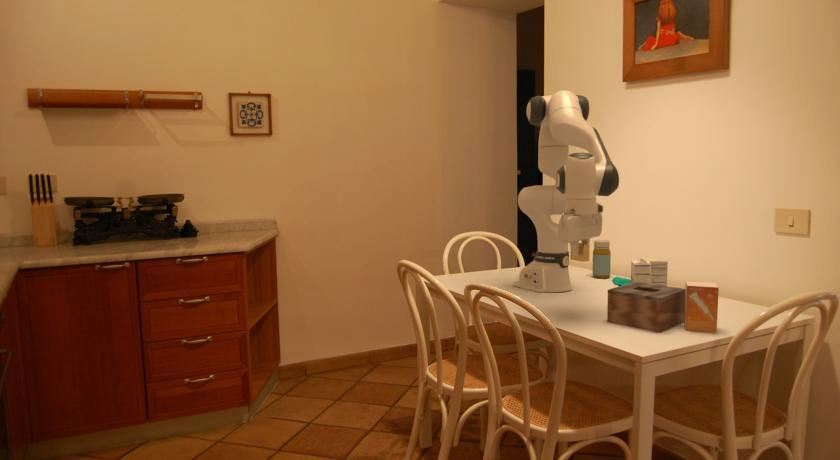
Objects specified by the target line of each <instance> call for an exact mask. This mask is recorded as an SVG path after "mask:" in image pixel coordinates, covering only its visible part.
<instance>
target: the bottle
mask: <svg viewBox="0 0 840 460" xmlns="http://www.w3.org/2000/svg"><path fill="white" fill-rule="evenodd" d="M610 241H611V240H606V239H596V240H594V241H593V250H592V277H594V278H596V279H608V278H610V276H611V257H612V256H611V250H610V249H611V248H610V245H611V243H610Z"/></svg>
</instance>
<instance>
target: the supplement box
mask: <svg viewBox="0 0 840 460" xmlns="http://www.w3.org/2000/svg"><path fill="white" fill-rule="evenodd" d="M639 260H647V261H649V262H650V263H651V284H655V285H662V286H668V266H669V264H668V263H669V262H668V261H667V260H665V259H663V258H661V257H640V258H639Z"/></svg>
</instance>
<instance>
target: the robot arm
mask: <svg viewBox="0 0 840 460" xmlns="http://www.w3.org/2000/svg"><path fill="white" fill-rule="evenodd" d="M525 112H526V113H525V114H526V117H527V120H528V122H529V124H531V125H532V126H536V127H537V126H538V127H540V130H539V135H538V147H537V148H538V151H537V152H538V154H537V157H538V159H537V162H538V163H537V165H538V166H537V167H538V169H539V171H540V173H542V174H544V175H546V176H548V177H550V178H552V179H553V180H554V181H555V184H553V185H551V184H550V185H547V184H545V185H542V184H541V185H536V184H535V185H532V186H531V185H529V186H527V187H523V188H522V189H521V190H520V191H519V192H518V193H519V194H518V196H517V203H518V204H517V205H518V207H519V209H520V211H521V212H522V213H524V214H525V215H526V216H527V217H528V218H529V219H530V220H531V221H532V223H533V225H534V227H535V231H536V237H537V238H536V239H537V250H536V251H534V252H532V253H531V254H532V255H531V257H533V260H532V261H531V262H530V263H528V264H527V265H526V266H524V267H523V268H522V269H521V270H520V273H519V277H518V280H517V281H515V282H513V284H512V286H513V287H516V286H517V287H516V288H519V287H520V289H523V290H528V291H530V292H535V293H562V292H568V291H571V290H573V287H572V283H571V278H570V272H569V265H570V252H569V247H570V249H571V248H572V255H573V256H578V255H580V250H579V248H578V244H579V243H586V244H590V240H591V239H593V238H596V237H597V238H598V237H601V234H602V230H603V215H602V214H603V213H604V205H602V204H600V203H599V202H597V196H598V197H600V196H601V197H609V196H611V195H612V194H613V193H614V192H616V191H617V189H618V188H619V185H620V176H619V171H618V169H617V167H616V165H615V164H614V163H613V162H612V160H611V158H610V155H609V153H608V151H607V149H606V148H607V147H606V146H605V144H604V141H603V139H602V137H601V136H600V133H599V132H598V130H597V128H595V127H594V126H592V125H591V124H590V123H588V122H587V121H588V118H589V116H590V112H591V106H590V102H589V99H588V98H587V97H586V96H584V95H580V94H576V95H575V92H572V91H570V90H557V92H555V93H554V94H551V95H543V96H542V95H536V96H532V97H531V98H530V99H529V100H528V103H527V106H526V111H525ZM569 146H572V147H576V148H580V149H583V150H585V151H587V152H572V153H570V152H569V151H570V149H569V148H570V147H569ZM569 153H570V154H569ZM553 215H556V216H559V215H561V217H560V218H559V220H558V223H556V222H554V221H553V220H552V217H551V216H553ZM580 241H581V242H580Z"/></svg>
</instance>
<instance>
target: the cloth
mask: <svg viewBox="0 0 840 460" xmlns="http://www.w3.org/2000/svg"><path fill="white" fill-rule="evenodd" d="M611 281H612V284H613V285H617V286H622V285H625V284H628V283H631V278H626V277H625V278H624V277H619V276H614V277H613V278H612V280H611Z"/></svg>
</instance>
